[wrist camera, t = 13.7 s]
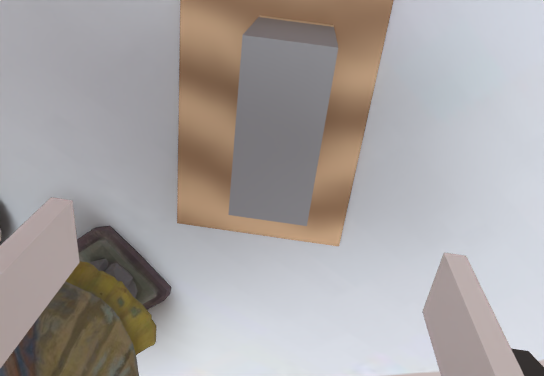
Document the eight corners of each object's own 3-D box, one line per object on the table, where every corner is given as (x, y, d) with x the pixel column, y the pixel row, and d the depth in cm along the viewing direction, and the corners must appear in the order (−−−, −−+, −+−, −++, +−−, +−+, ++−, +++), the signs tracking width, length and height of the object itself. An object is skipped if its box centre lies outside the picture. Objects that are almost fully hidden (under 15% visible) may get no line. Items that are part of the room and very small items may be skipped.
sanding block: (259, 15, 31) (242, 34, 23) (333, 25, 30) (338, 47, 23) (245, 162, 36) (228, 214, 29) (308, 171, 36) (306, 226, 29)
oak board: (186, -105, 29) (181, -107, 28) (407, -77, 28) (410, -78, 27) (180, 217, 40) (177, 223, 39) (338, 239, 40) (338, 246, 39)
